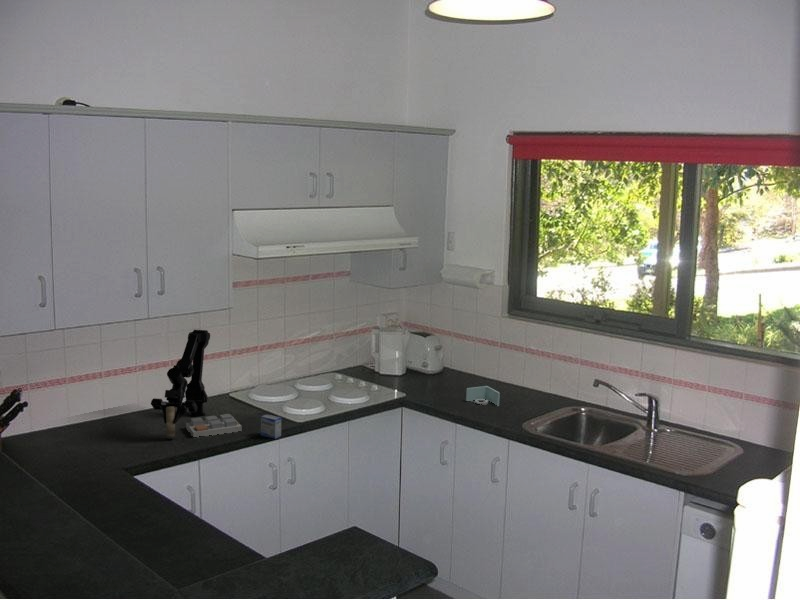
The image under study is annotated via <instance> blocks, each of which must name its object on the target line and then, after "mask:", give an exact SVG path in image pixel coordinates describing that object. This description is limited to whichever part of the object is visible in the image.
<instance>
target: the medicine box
mask: <svg viewBox="0 0 800 600" xmlns="http://www.w3.org/2000/svg"><path fill="white" fill-rule="evenodd" d="M260 436H261V437H265V438H270V439H275V440H276V439H278V438H280V437H281V436H282V417H281V416H275V415H271V414H264V415H262V416H260Z"/></svg>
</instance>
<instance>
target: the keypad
mask: <svg viewBox="0 0 800 600" xmlns="http://www.w3.org/2000/svg"><path fill="white" fill-rule="evenodd" d="M198 425H205V426H206V427H207V430H204V431H197V432H196V430H195V427H194V426H198ZM242 428H243V426H242V424H240V422H239V421H237V420H236V418H234V416H233V415H232V414H231V413H225V414H220V415H219V418H218V417H217V416H216V415H209V416H205V419H204V420H203V418H202V417H200V416H198V417H192V418H190V422H186V423H185V429H186V430H187V431H188V433H189V432H190V433H191V434H190V433H189V434H190V436H191V437H192V436H193V437H197V438H200V437H199V436H205V437H210V436H209V435H212V436H218V435H217V434H219V435H225V434H224V433H227V434H232V432H234V433H239V432H238V431H241V432H242ZM193 437H192V438H193Z"/></svg>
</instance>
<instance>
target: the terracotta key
mask: <svg viewBox="0 0 800 600" xmlns="http://www.w3.org/2000/svg"><path fill="white" fill-rule="evenodd" d="M194 427H195V430H196V432H197V431H204V430H207V427H206V426H205V425H198V426H194Z"/></svg>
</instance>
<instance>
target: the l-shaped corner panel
mask: <svg viewBox="0 0 800 600" xmlns="http://www.w3.org/2000/svg"><path fill="white" fill-rule="evenodd" d="M500 395H501V393H500V392H499V391H498V390H495V389H494V388H492V387H490V386H489V385H484V386H472V387H466V393H465V402H466V401H471V402H474V403H473V404H475V403H477V404H480V405H479V406H482V405H484V406H487V405H488V404H489V403H491V402H492V403H494V404H495V405H494V404H493V405H494V406H496V405H497V406H496V407H500V397H501V396H500ZM485 399H486V400H485ZM473 400H475V401H473ZM479 401H483V402H479ZM489 401H490V402H489ZM492 403H491V404H492ZM481 404H482V405H481Z"/></svg>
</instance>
